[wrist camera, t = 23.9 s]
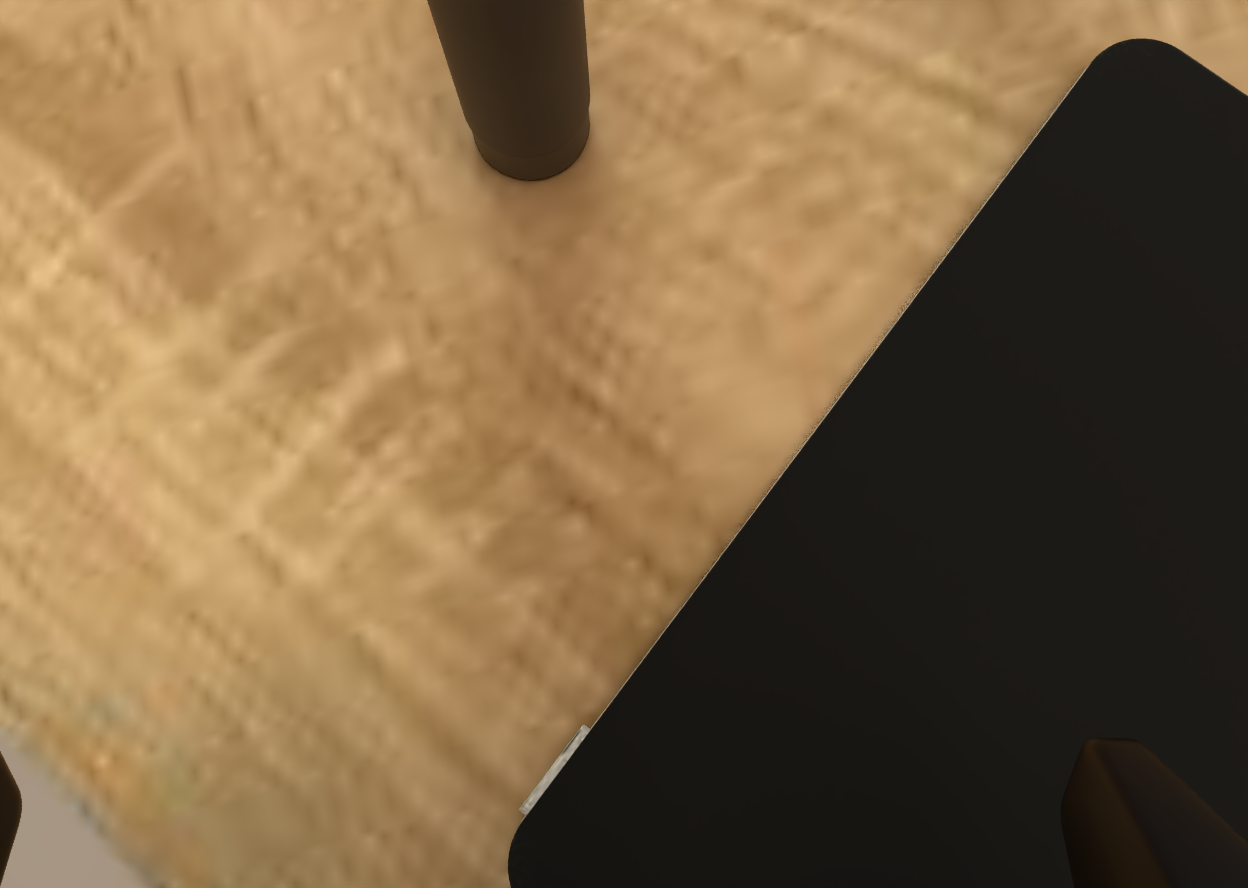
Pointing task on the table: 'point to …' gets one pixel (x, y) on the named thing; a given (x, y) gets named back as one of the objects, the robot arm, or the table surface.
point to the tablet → (971, 549)
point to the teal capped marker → (519, 79)
